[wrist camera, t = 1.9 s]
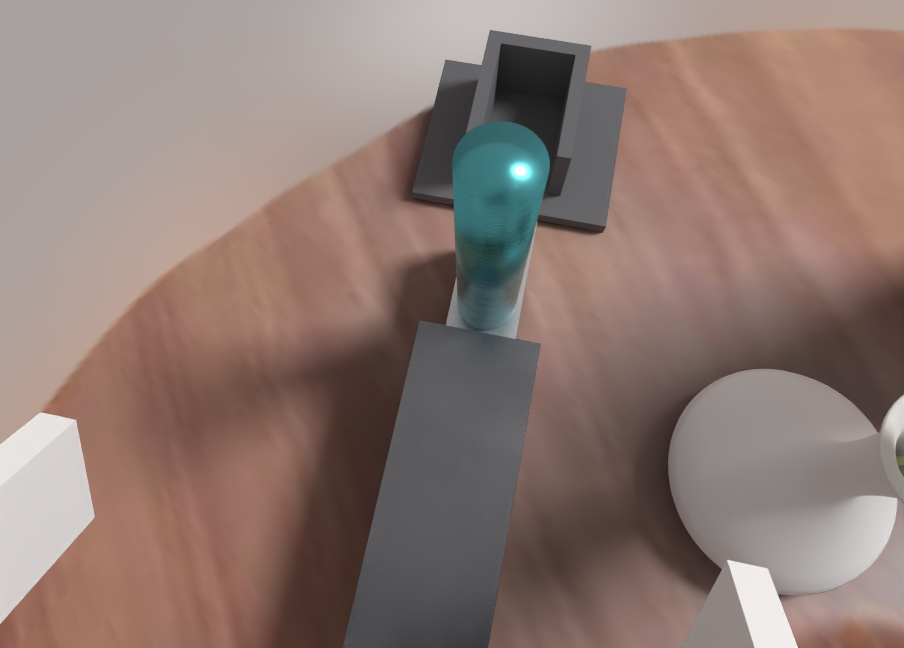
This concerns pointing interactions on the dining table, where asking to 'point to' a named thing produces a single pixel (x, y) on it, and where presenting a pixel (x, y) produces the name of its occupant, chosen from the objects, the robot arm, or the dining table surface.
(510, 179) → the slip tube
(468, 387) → the dark grey rectangular prism
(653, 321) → the dining table surface
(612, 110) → the socket
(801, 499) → the flower in vase
